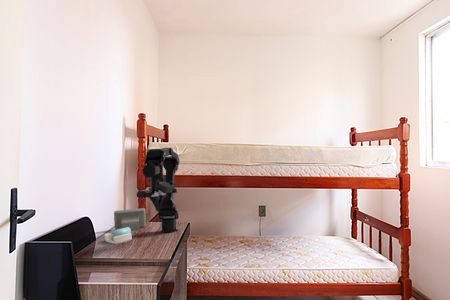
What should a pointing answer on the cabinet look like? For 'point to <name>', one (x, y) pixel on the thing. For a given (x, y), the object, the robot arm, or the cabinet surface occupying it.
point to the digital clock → (129, 218)
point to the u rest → (118, 238)
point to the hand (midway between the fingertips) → (158, 211)
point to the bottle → (119, 232)
